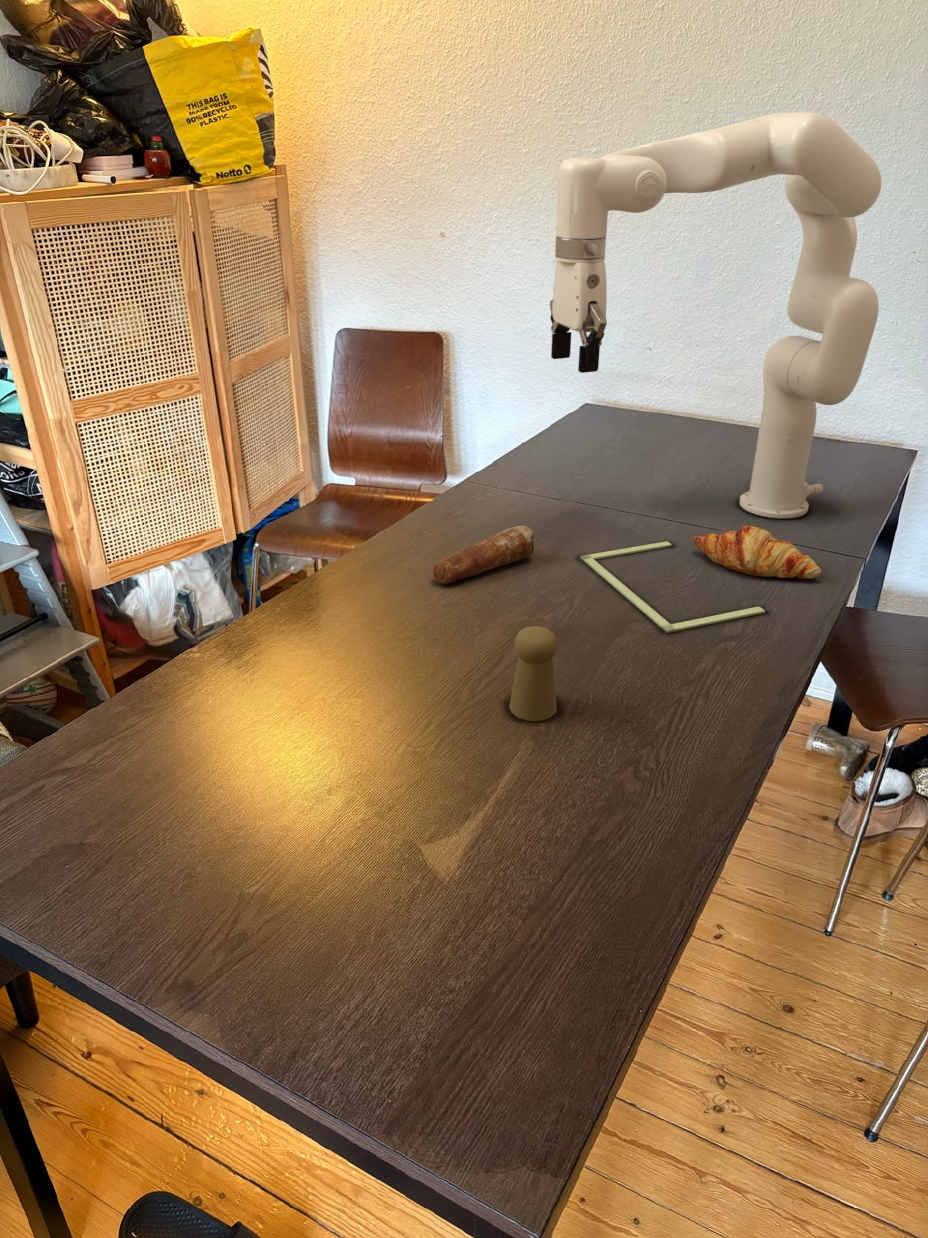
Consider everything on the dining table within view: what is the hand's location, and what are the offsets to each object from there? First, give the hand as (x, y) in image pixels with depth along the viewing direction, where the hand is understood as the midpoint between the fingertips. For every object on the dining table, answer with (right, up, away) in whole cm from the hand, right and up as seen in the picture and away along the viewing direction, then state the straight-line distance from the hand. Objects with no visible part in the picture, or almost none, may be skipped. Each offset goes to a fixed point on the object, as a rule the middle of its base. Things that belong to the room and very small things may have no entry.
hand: (574, 364), depth 145 cm
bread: (-14, -33, +5) cm, 36 cm away
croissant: (+30, -32, +6) cm, 45 cm away
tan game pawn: (-9, -52, -30) cm, 61 cm away
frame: (+15, -35, 0) cm, 38 cm away
